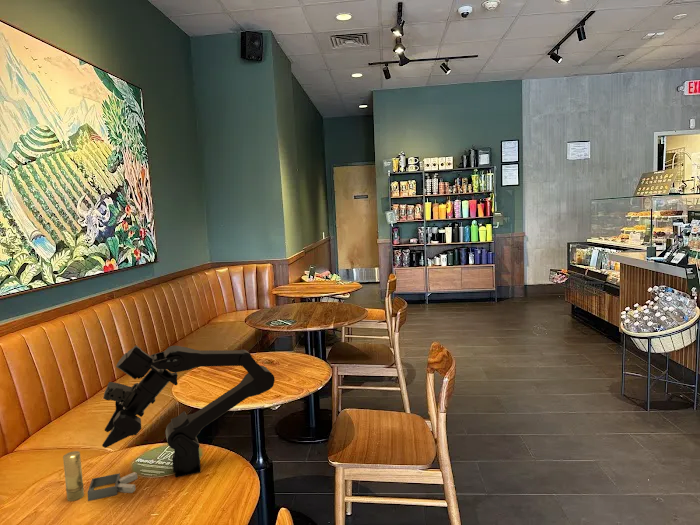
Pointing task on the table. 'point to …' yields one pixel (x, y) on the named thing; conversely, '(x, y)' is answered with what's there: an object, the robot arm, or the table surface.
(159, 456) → the table surface
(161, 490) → the table surface
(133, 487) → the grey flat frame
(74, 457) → the gold metal cylinder
